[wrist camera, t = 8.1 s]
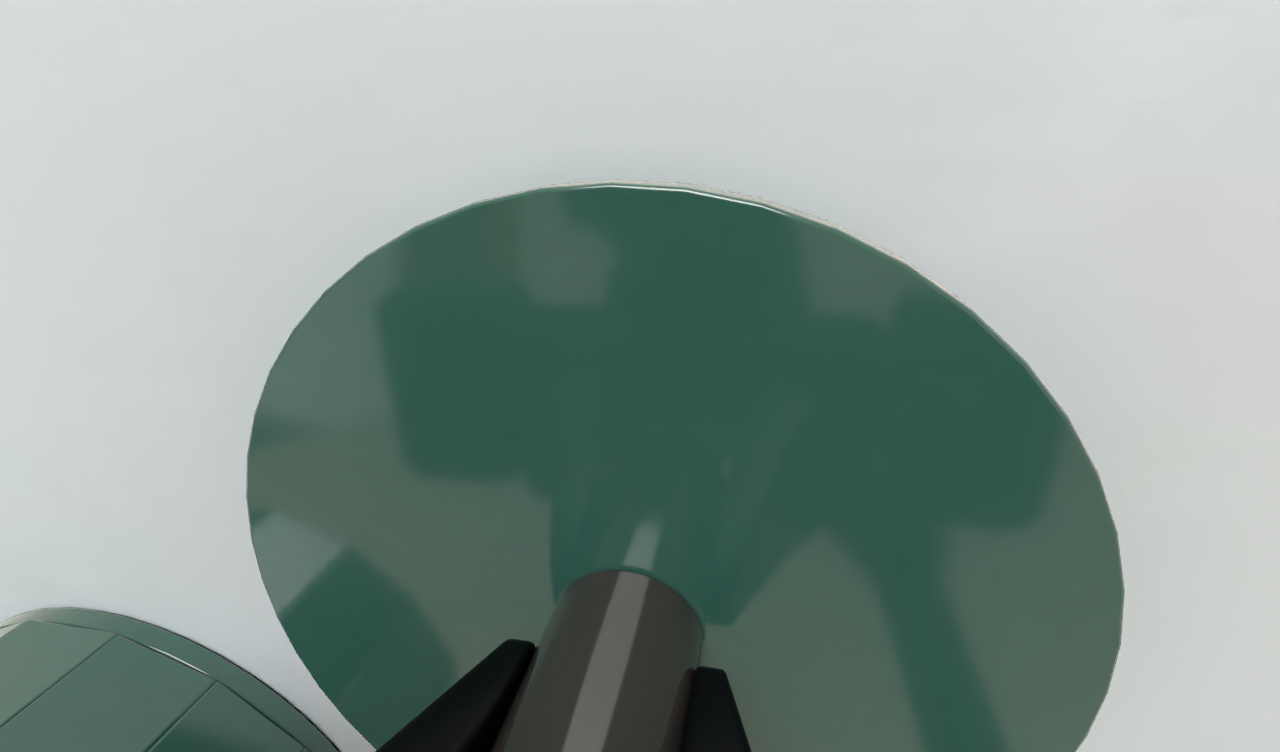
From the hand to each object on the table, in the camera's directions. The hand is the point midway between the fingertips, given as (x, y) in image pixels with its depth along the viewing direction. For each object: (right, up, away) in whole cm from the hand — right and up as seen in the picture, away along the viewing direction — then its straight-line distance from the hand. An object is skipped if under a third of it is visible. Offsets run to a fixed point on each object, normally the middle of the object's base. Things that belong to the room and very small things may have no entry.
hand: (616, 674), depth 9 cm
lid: (0, +1, +1) cm, 1 cm away
